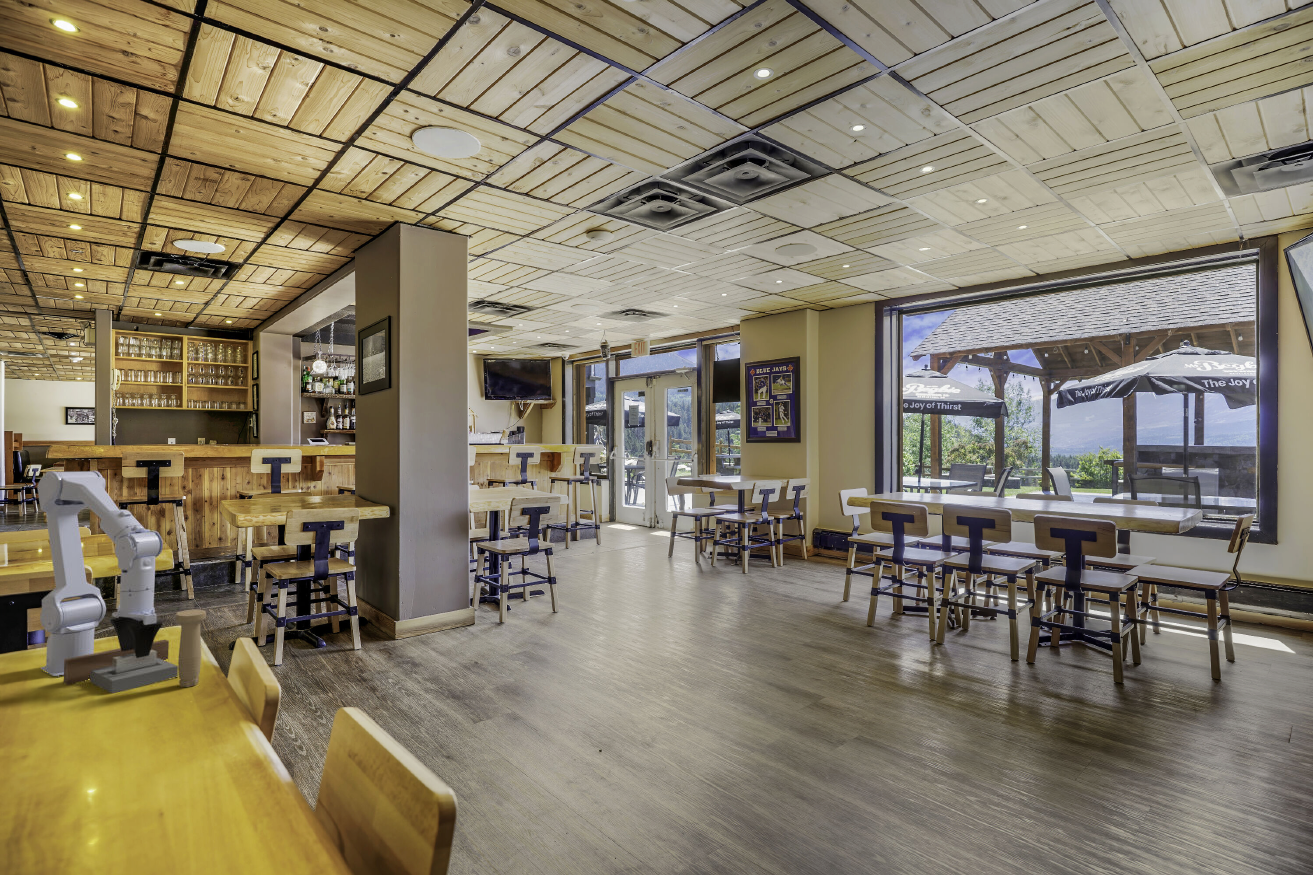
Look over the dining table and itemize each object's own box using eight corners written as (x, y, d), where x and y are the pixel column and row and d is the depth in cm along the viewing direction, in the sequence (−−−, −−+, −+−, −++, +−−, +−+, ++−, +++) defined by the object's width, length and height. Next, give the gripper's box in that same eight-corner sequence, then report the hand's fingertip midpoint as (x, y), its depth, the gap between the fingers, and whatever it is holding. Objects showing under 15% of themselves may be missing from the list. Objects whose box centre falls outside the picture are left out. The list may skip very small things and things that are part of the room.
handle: (179, 691, 133) (182, 617, 133) (170, 684, 137) (172, 612, 138) (207, 685, 137) (209, 613, 137) (197, 678, 141) (199, 608, 141)
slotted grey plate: (90, 682, 138) (90, 670, 138) (154, 667, 148) (154, 656, 148) (111, 693, 132) (112, 680, 132) (177, 677, 141) (177, 665, 141)
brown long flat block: (63, 683, 137) (64, 658, 137) (164, 661, 152) (165, 639, 153) (66, 684, 136) (67, 660, 136) (168, 662, 151) (168, 640, 151)
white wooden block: (111, 684, 137) (112, 657, 137) (151, 674, 143) (152, 649, 143) (115, 686, 136) (116, 659, 136) (155, 676, 142) (156, 651, 142)
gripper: (100, 587, 141) (98, 651, 140) (128, 596, 133) (125, 664, 133) (140, 582, 147) (138, 644, 146) (169, 590, 139) (166, 655, 139)
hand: (134, 653), depth 140 cm, fingers open, 7 cm apart
